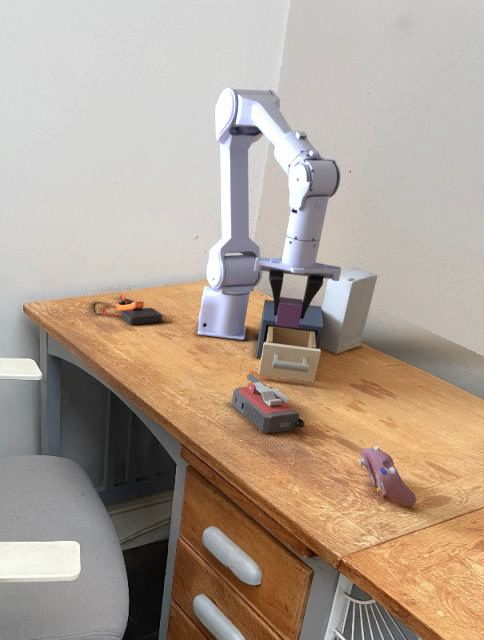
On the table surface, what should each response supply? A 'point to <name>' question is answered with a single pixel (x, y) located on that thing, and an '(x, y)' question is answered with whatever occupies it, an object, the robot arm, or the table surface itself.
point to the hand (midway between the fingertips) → (288, 315)
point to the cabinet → (309, 322)
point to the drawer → (290, 354)
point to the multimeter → (135, 312)
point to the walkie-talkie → (266, 407)
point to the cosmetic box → (346, 309)
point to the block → (289, 312)
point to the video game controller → (386, 476)
